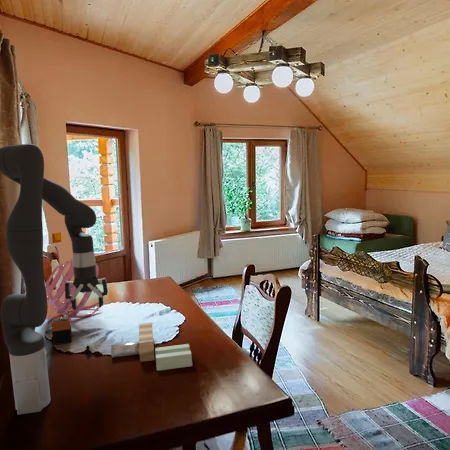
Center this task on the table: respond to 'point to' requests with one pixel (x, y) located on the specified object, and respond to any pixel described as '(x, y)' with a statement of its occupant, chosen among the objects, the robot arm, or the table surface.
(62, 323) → the battery
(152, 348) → the beam
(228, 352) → the table surface
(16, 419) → the table surface
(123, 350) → the pale grey long bar
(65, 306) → the spiral basket
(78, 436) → the table surface
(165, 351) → the v block
